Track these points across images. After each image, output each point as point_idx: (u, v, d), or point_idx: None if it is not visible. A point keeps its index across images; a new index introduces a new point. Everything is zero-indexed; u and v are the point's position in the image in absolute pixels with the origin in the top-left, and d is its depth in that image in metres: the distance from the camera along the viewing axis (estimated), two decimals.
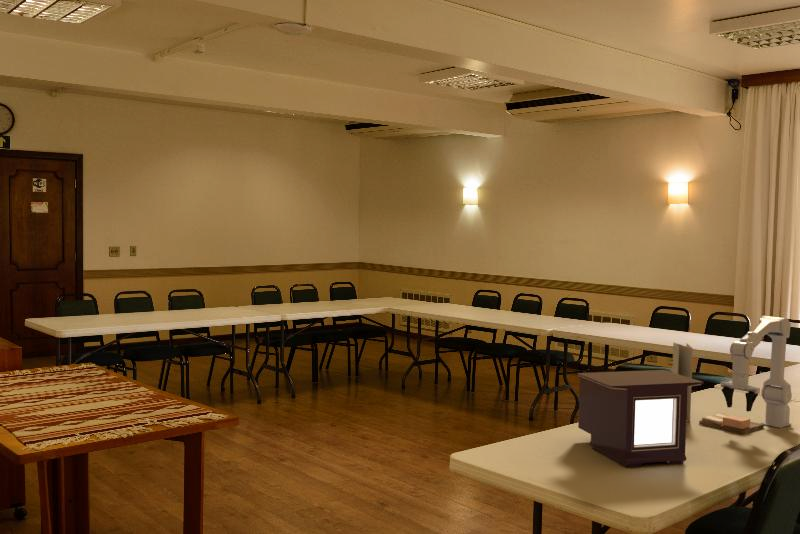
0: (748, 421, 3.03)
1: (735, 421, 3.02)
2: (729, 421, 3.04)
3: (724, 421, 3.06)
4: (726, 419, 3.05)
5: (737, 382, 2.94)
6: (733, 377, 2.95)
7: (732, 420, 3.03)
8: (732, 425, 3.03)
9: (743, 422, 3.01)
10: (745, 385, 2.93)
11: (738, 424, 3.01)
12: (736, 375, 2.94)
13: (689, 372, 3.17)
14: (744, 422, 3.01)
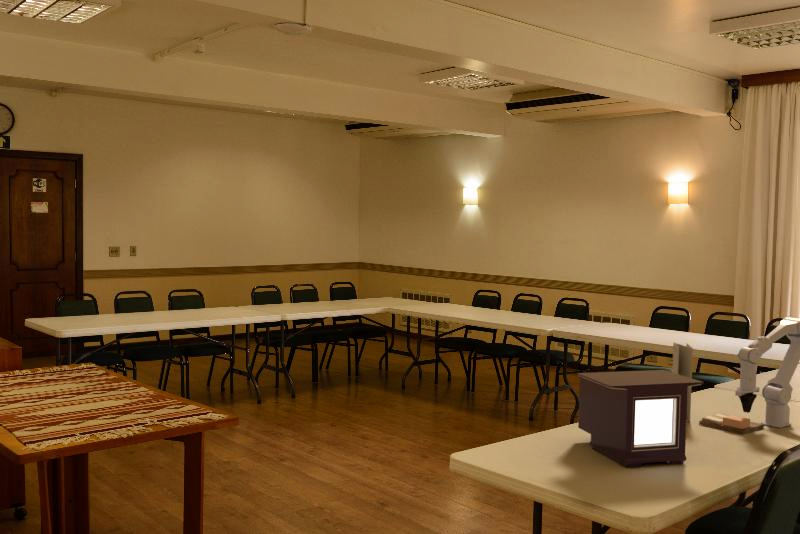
0: (748, 421, 3.03)
1: (735, 421, 3.02)
2: (729, 421, 3.04)
3: (724, 421, 3.06)
4: (726, 419, 3.05)
5: None
6: None
7: (732, 420, 3.03)
8: (732, 425, 3.03)
9: (743, 422, 3.01)
10: (741, 388, 3.08)
11: (738, 424, 3.01)
12: None
13: (689, 372, 3.17)
14: (744, 422, 3.01)
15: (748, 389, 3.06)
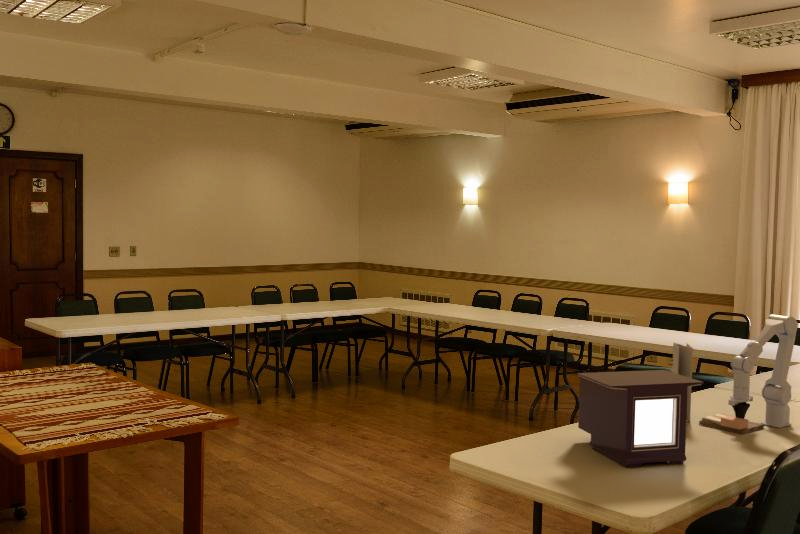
0: (746, 422, 3.02)
1: (733, 422, 3.01)
2: (727, 422, 3.03)
3: (722, 422, 3.05)
4: (724, 420, 3.04)
5: None
6: None
7: (730, 421, 3.02)
8: (730, 426, 3.02)
9: (741, 423, 3.00)
10: (735, 397, 3.05)
11: (736, 425, 3.00)
12: None
13: (689, 372, 3.17)
14: (742, 423, 3.00)
15: (741, 398, 3.03)
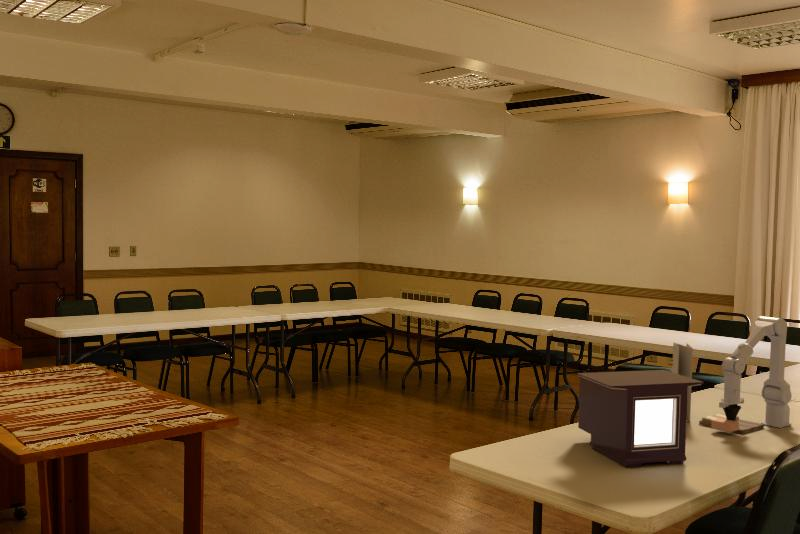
0: (737, 424, 2.98)
1: (724, 424, 2.97)
2: (718, 424, 2.99)
3: (713, 424, 3.01)
4: (715, 422, 3.00)
5: None
6: None
7: (721, 423, 2.98)
8: (721, 428, 2.98)
9: (732, 425, 2.96)
10: (725, 399, 3.01)
11: (727, 427, 2.96)
12: None
13: (689, 372, 3.17)
14: (733, 425, 2.96)
15: (732, 401, 2.99)
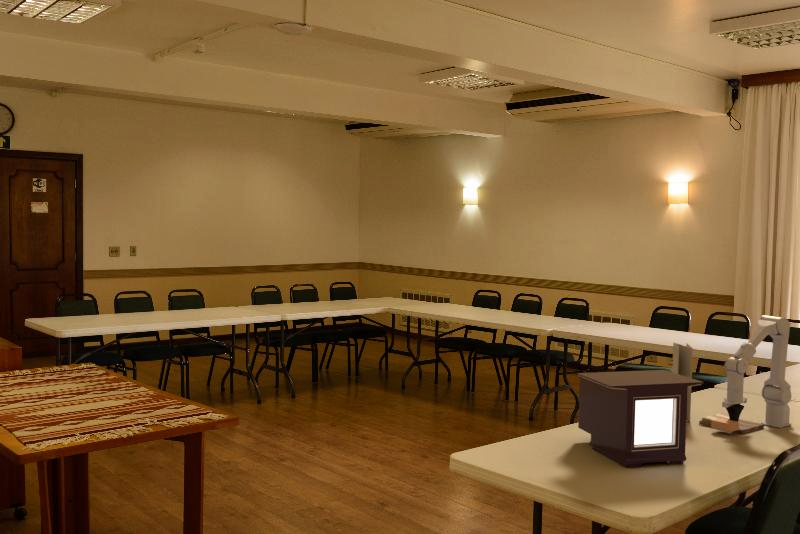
0: (737, 424, 2.98)
1: (724, 424, 2.97)
2: (718, 424, 2.99)
3: (713, 424, 3.01)
4: (715, 422, 3.00)
5: None
6: None
7: (721, 423, 2.98)
8: (721, 428, 2.98)
9: (732, 425, 2.96)
10: (728, 399, 3.02)
11: (727, 427, 2.96)
12: None
13: (689, 372, 3.17)
14: (733, 425, 2.96)
15: (735, 400, 3.00)
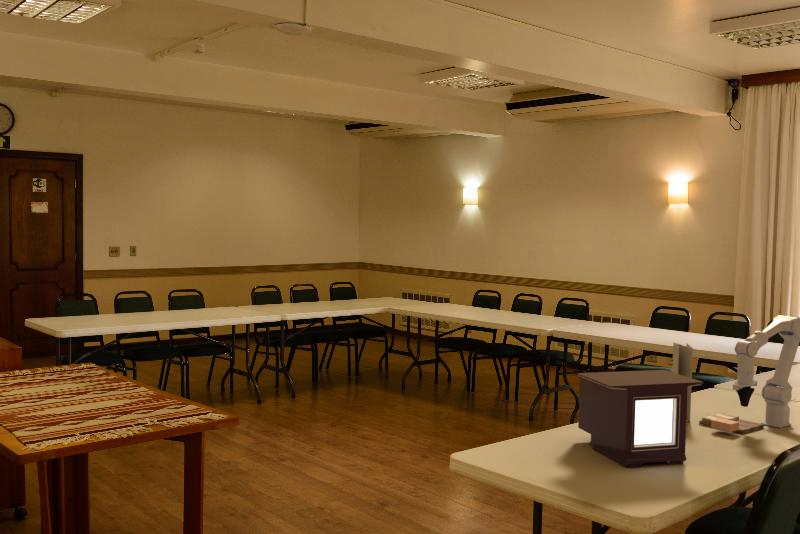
0: (737, 424, 2.98)
1: (724, 424, 2.97)
2: (718, 424, 2.99)
3: (713, 424, 3.01)
4: (715, 422, 3.00)
5: None
6: None
7: (721, 423, 2.98)
8: (721, 428, 2.98)
9: (732, 425, 2.96)
10: (739, 382, 3.04)
11: (727, 427, 2.96)
12: None
13: (689, 372, 3.17)
14: (733, 425, 2.96)
15: (745, 383, 3.02)
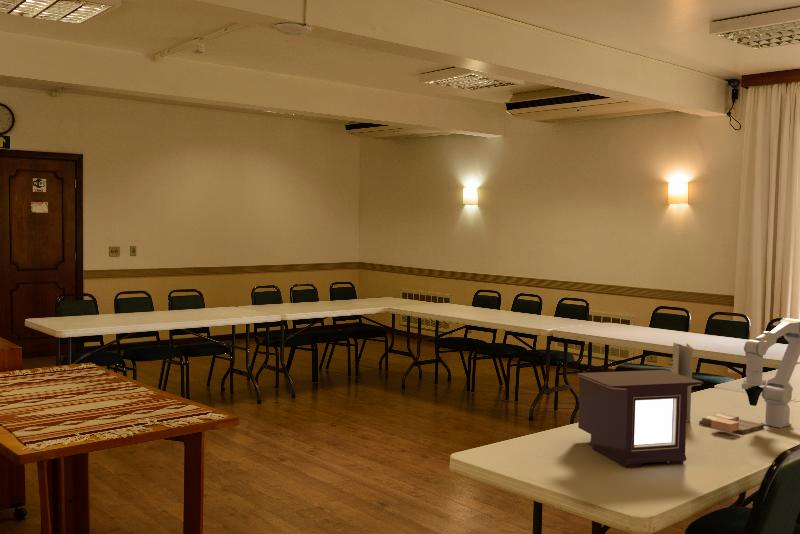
0: (737, 424, 2.98)
1: (724, 424, 2.97)
2: (718, 424, 2.99)
3: (713, 424, 3.01)
4: (715, 422, 3.00)
5: None
6: None
7: (721, 423, 2.98)
8: (721, 428, 2.98)
9: (732, 425, 2.96)
10: (748, 381, 3.05)
11: (727, 427, 2.96)
12: None
13: (689, 372, 3.17)
14: (733, 425, 2.96)
15: (754, 382, 3.03)
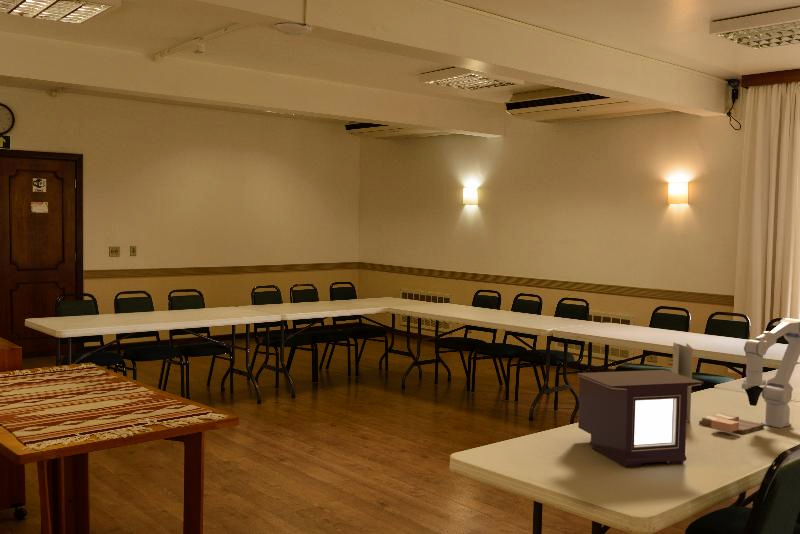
0: (737, 424, 2.98)
1: (724, 424, 2.97)
2: (718, 424, 2.99)
3: (713, 424, 3.01)
4: (715, 422, 3.00)
5: None
6: None
7: (721, 423, 2.98)
8: (721, 428, 2.98)
9: (732, 425, 2.96)
10: (748, 381, 3.05)
11: (727, 427, 2.96)
12: None
13: (689, 372, 3.17)
14: (733, 425, 2.96)
15: (754, 382, 3.03)
